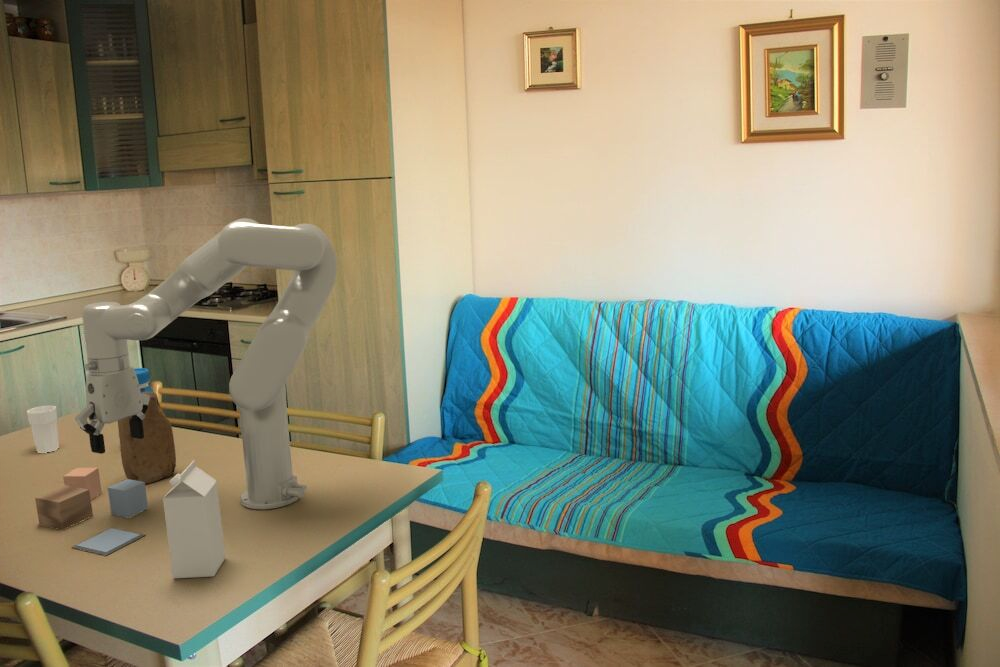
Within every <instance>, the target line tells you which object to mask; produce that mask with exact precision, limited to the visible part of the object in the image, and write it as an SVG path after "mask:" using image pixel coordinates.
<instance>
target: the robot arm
mask: <svg viewBox="0 0 1000 667" xmlns="http://www.w3.org/2000/svg"><path fill="white" fill-rule="evenodd" d="M336 256H337V255H336V251H335V249H334V247H333V245H332V243H331V241H330V239H329V237H328V236H327V235H326V234H325V232H324V231H323V230H322V229H321V228H320V227H318V226H317V225H314V224H313V223H299V224H296V225H294V226H288V225H277V224H275V225H273V224H264V223H259V222H258V221H256V220H255V219H251V218H247V217H246V218H238V219H236V220H234V221H232V222H230V223H228V224H226V225H225V226H224V227H223V228H222V229H221V231H219V232H218V233H217V234H216V235H215V236H213V237H212V238H210V239H209V240H208V241H207V242H205V243H204V244H203V245H202V246H200V247H199V248H198V249H196V250H195V251H194V252H193V253H191V254H190V255H189V256H187V257H186V258H185V259H184V260H183V261H181V263H180V264H179V266H178V267H177V269H175V270H174V272H173V273H172V274H171V275H170V276H168V277H167V278H166V279H164V280H163V281H162V282H161V283H160V284H159V285H157V286H156V287H154V288H153V289H152V290H150V291H149V292H148V293H147V294H145V295H144V296H142V297H141V298H139V299H138V300H136V301H135V302H132V303H130V304H125V305H122V304H120V303H119V302H116V301H102V302H93V303H89V304H86V305H85V306H84V307H82V311H81V316H82V317H81V318H82V327H83V334H84V341H85V350H86V359H87V363H85V364H84V366H83V367H84V370H85V371H88V373H86V382H85V383H86V384H85V400H86V401H85V404H86V406H85V408H83V409H82V410H81V411H80V412H79V413H78V414H77V415H76V416H75V417H74V421H75V422H76V423H77V425H78V426H79V429H80V430H81V431H84V432H85V434H87V435H88V436H89V444H90V449H91V450H90V451H91V452H92V453H94V454H101V455H102V454H105V453H106V447H105V439H104V438H105V437H104V434H103V433H101V432H102V430H103V428H104V426H105V424H106V425H107V424H108V425H109V424H112V423H115V422H118V421H119V420H122V419H125V418H128V417H132V418H131V419H129V424H130V433H131V437H133V438H139V439H142V438H144V430H143V421H142V420H143V419H144V418H145V415H144V414H145V413H146V411H147V409H148V406H147V405H148V403H149V400H150V396H149V395H147V394H143V393H141V392H140V387H139V383H138V379H137V376H136V373H135V370H134V369H135V368H134V366H132V365H131V364H130V356H129V345H128V340H130V341H147V340H150V339H152V338H154V337H155V336H156V335H157V334H158V333H160V332H161V331H162V330H163V329H164V328H166V327H167V326H168V325H169V324H171V323H172V322H173V321H174V320H176V319H177V318H178V317H179V316H181V315H182V314H183V313H185V312H186V311H188V310H189V309H190V308H191V307H192V306H194V305H195V304H197V303H198V302H199V301H201V300H202V299H205V298H207V297H209V296H211V295H213V294H214V293H215V292H217V291H218V290H219V289H221V288H222V287H223V286H224V285H226V284H227V283H228V282H229V281H230V280H232V279H233V278H235V277H236V276H237V275H238V274H239V273H241V272H242V271H243V270H245V269H246V268H248V267H249V268H258V269H269V270H270V269H271V270H272V269H274V270H284V271H293V274H292V276H291V278H290V280H289V282H288V284H287V286H286V287H285V289H284V290H283V293H282V294H281V297H280V298H279V299H278V302H277V304H276V305H275V307H274V308H273V310H272V311H271V313H270V314H269V315H268V316H267V317H266V319H264V320H263V322H262V323H261V325H260V327H259V328H258V330H257V332H256V334H255V335H254V337H253V339H252V341H251V342H250V344H249V345H248V348H247V349H246V351H245V353H244V355H243V357H242V358H241V359H240V361H239V363H238V364H237V367H236V368H235V370H234V372H233V374H232V375H231V377H230V380H229V384H228V386H229V387H228V390H229V391H228V392H229V395H230V397H231V399H232V401H233V403H234V404H235V405H236V406H237V407H238V408H239V422H240V430H241V431H240V432H241V441H242V451H243V460H244V468H245V480H246V486H247V487H246V490H245V491H244V492H243V493H241V495H240V503H241V505H242V506H244V507H246V508H248V509H250V510H251V509H253V510H270V509H277V508H281V507H285V506H287V505H290V504H292V503H293V504H294V503H295V502H296V501H299V499H302V498H304V496H305V494H306V493H305V492H306V491H307V489H308V487H307V485H306V484H299V483H298V477H297V475H293V466H292V464H293V463H292V453H291V452H292V451H291V443H290V441H291V440H290V435H289V434H290V433H289V419H288V410H287V408H288V407H287V391H286V390H287V388H286V382H288V379H289V377H291V375H292V372H293V370H294V368H295V367H296V365H297V363H298V362H299V360H300V359H301V357H302V355H303V353H304V352H305V351H304V350H305V348H306V346H307V343H308V339H309V336H310V333H311V331H312V329H313V327H314V326H315V324H316V322H317V320H318V319H319V317H320V315H321V314H322V310H323V309H324V307H325V305H326V303H327V302H328V300H329V297H330V296H331V293H332V291H333V289H334V286H335V283H336V279H337V275H338V274H337V272H338V269H337V268H338V263H337V257H336ZM88 420H89V422H88Z"/></svg>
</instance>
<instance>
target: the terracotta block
mask: <svg viewBox="0 0 1000 667" xmlns="http://www.w3.org/2000/svg"><path fill="white" fill-rule="evenodd" d="M62 477H63V483H64V485H63V486H65V485H67V486H73V487H78V488H83V489H89V492H90V499H91V500H92V499H93V498H94V499H95V497H96V496H97V495H99V494H100V495H101V494H102V493H103V492H102V486H101V479H100V471H99V467H75V468H74V469H72V470H71V471H69V472H67V473H66V474H64V475H62ZM100 495H99V496H100ZM97 497H98V496H97ZM97 497H96V498H97ZM94 499H93V500H94ZM93 500H92V501H93Z"/></svg>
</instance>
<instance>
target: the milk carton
mask: <svg viewBox="0 0 1000 667" xmlns="http://www.w3.org/2000/svg"><path fill="white" fill-rule="evenodd" d="M168 483H169V484H170V485H171V486H173V487H171V489H170V490H169V491H168V492H167V493H166V494H165V495H164V497H163V498H162V503H163V504H162V505H163V510H164V519H165V526H166V527H165V528H166V535H167V542H168V551H169V557H170V568H171V573H172V579H189V578H190V579H191V578H192V579H193V578H208V577H212V578H213V577H215V575H216V574H217V572H218V571H219V569H220V568H221V566H222V564H223V563H224V561H225V559H226V550H225V545H224V543H225V541H224V536H223V526H222V515H221V510H220V508H221V507H220V500H219V498H220V496H219V491H218V490H219V489H218V482H217V480H216V479H215V478H214V477H212V476H211V475H209V474H208V473H206V472H205V471H204V470H202V469H201V468H199V466H198V467H197V465H196V460H195V459H194V460H192V461H191V463H190V464H189V465H188V466H187V467H186V468H185V469H184V470H183V471H182V472H181V473H176V474H175V475H174V476H173V477H172V478H171V479H170V480H169V482H168Z"/></svg>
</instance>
